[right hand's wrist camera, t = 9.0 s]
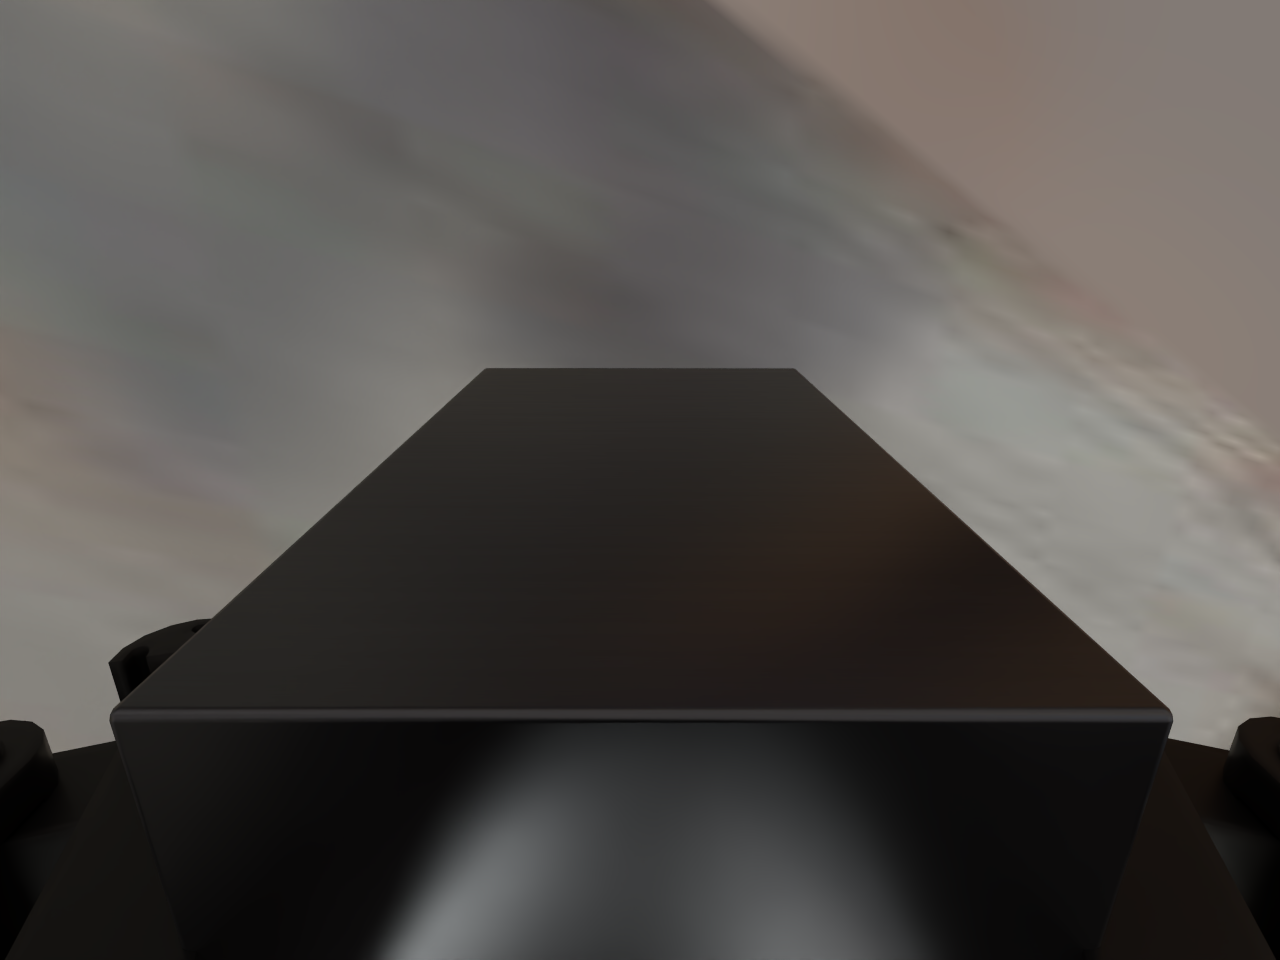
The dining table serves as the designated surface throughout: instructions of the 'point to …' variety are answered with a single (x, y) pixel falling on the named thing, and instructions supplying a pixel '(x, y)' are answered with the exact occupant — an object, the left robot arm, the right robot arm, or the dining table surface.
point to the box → (640, 704)
